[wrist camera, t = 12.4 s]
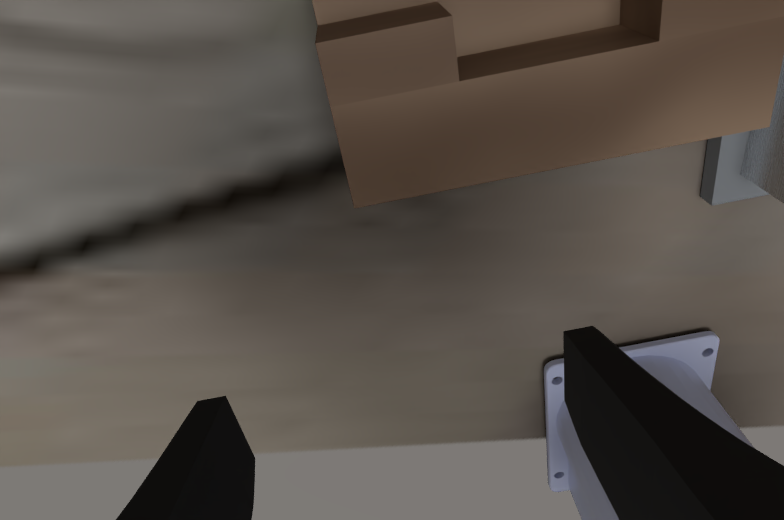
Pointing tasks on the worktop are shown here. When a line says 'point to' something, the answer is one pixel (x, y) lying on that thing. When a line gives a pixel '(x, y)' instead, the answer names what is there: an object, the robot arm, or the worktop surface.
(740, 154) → the slate mat
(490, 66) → the pocket board
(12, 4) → the worktop surface
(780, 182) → the aluminium tile
